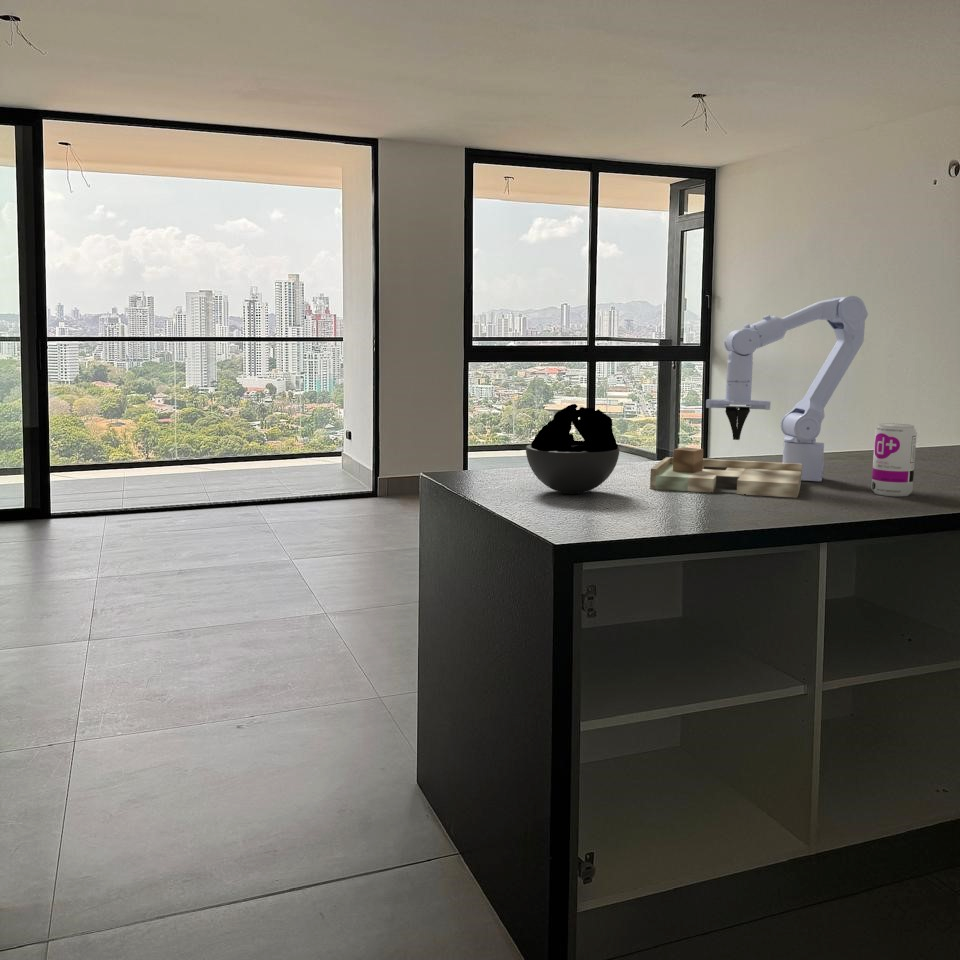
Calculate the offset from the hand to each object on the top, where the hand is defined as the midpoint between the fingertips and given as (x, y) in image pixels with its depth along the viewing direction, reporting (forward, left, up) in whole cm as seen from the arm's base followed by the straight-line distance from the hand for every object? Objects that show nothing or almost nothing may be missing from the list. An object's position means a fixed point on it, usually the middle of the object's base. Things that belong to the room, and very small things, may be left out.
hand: (736, 439), depth 231 cm
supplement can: (-34, +9, -10) cm, 36 cm away
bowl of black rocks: (+31, +34, -10) cm, 47 cm away
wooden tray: (+1, +11, -9) cm, 15 cm away
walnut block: (+10, +12, -6) cm, 17 cm away
